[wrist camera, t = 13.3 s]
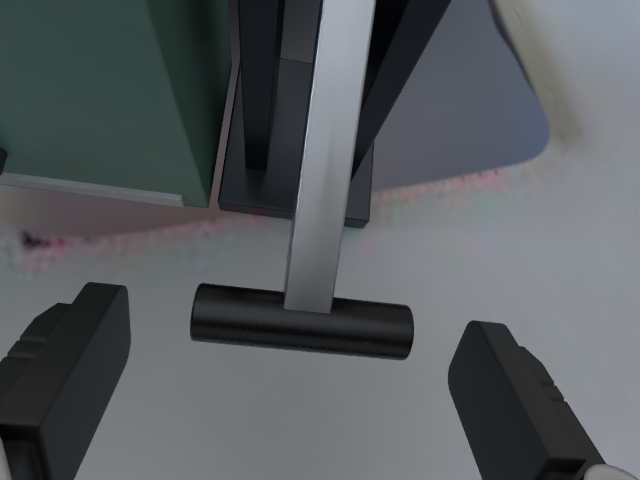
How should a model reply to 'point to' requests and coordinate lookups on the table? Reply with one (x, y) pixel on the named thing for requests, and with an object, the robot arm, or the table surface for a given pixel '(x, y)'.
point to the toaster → (114, 97)
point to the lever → (316, 223)
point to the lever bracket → (291, 103)
